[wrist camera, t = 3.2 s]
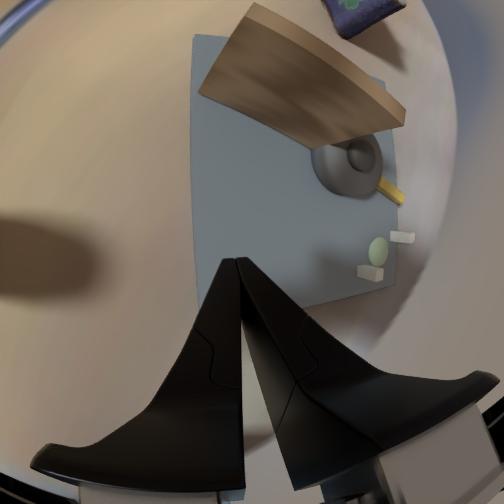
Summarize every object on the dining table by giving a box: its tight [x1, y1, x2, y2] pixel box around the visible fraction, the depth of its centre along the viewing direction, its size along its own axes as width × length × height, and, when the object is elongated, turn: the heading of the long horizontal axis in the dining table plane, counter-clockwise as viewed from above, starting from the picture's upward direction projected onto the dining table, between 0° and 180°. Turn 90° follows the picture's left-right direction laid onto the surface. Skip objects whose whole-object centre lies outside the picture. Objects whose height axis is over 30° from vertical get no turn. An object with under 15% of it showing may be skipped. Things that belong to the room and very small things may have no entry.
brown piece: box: [197, 2, 406, 204], centre depth 16 cm, size 20×6×9 cm, turn 69°
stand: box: [190, 34, 414, 310], centre depth 20 cm, size 22×20×3 cm
